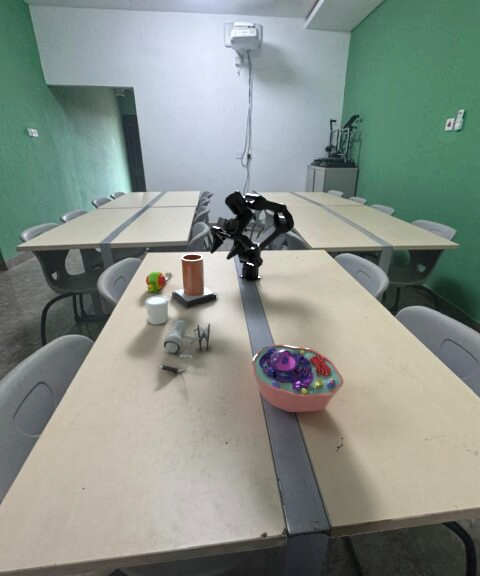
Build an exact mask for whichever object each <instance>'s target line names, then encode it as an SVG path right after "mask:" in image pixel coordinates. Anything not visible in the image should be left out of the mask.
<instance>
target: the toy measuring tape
mask: <svg viewBox="0 0 480 576" xmlns="http://www.w3.org/2000/svg"><path fill="white" fill-rule="evenodd" d="M171 276H172V272H167V271H166V272H165V275H164V273H162V272H161V271H156V270H155V271H154V270H153V271H151V272H150V273H149V274H148V275H147V276H146V279H145V283H146V285H147V290H148V292H149V293H157V292H159V290H161V289H162V288H163V287H164V286H165V285H166V281H168V280H170V277H171Z"/></svg>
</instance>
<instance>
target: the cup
mask: <svg viewBox="0 0 480 576" xmlns="http://www.w3.org/2000/svg"><path fill="white" fill-rule="evenodd" d="M180 259H181V273H182V287H183V288H182V289H183V290H184V293H185V294H186V295H190V296H196V295H200V294H202V293H203V292H204V287H205V273H204V272H205V271H204V255H202V254H198V253H188V254H184V255H182V256H181V258H180Z"/></svg>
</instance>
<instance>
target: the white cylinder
mask: <svg viewBox="0 0 480 576" xmlns="http://www.w3.org/2000/svg"><path fill="white" fill-rule="evenodd" d="M144 305H145V309H146V313H147V317H148V322H149V324H151V325H162V324H165V323H167V322H168V319H169V299H168V297H167V296H164V295H153V296H150V297H147V298H145V299H144Z"/></svg>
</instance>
